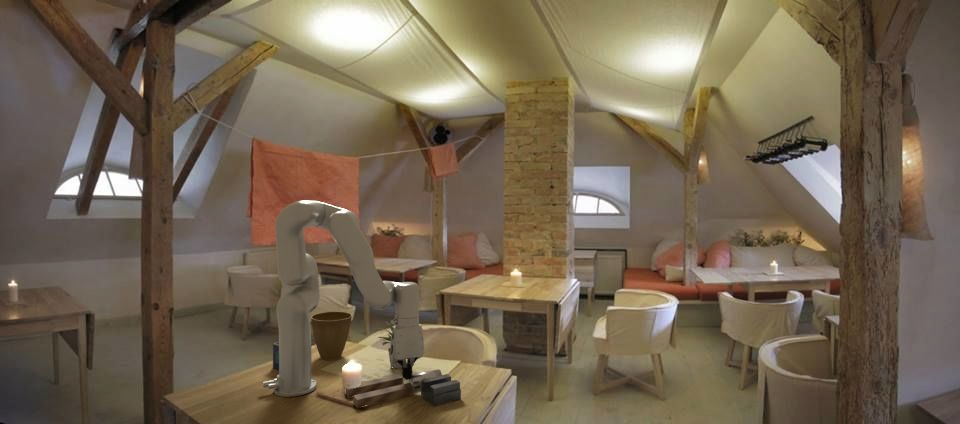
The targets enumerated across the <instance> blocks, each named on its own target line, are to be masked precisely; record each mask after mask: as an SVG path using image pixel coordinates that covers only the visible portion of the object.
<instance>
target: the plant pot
mask: <svg viewBox="0 0 960 424" xmlns="http://www.w3.org/2000/svg"><path fill="white" fill-rule="evenodd" d="M352 319H353V315H352V313H350V312H346V311H326V312H319V313H314V314H312V315H311V316H310V323H311V330H312V333H313V337H314V343H315V346H316V349H317V352H318V354H319V357H320V359H321V360H324V361H334V360H338V359H340V358H342V355H343V352H344V350H345V347H346V345H347V341H348V337H349V334H350V329H351V324H352Z"/></svg>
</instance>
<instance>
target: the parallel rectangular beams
mask: <svg viewBox="0 0 960 424" xmlns="http://www.w3.org/2000/svg"><path fill="white" fill-rule="evenodd" d="M346 395H347V396H348V397H351V398H353V399H352V401H353V403H354V404H355V406H354V407H355V408H356V409H357V410H358V409H362V408H361V407H362V406H365V405H368V406H367V407H370V406H371V407H372V406H374V405H375V406H376V405H378V404H382V403H386V402H389V401H394V400H399V399H402V398H406V397H407V398H408V397H411V396H414V395H415V387H414V386H413V385H412V384H411V383H409V382H406V383H404V378H403V377H402V374H400V373H398V374H393V375H389V376H383V377H380V378H379V377H377V378H375V379H371V380H365V381H361V385H360V386H359V387H356V388H346ZM346 395H345V396H346ZM347 396H346V397H347ZM352 396H353V397H352ZM348 397H347V398H348ZM354 404H353V405H354Z"/></svg>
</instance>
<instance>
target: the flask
mask: <svg viewBox="0 0 960 424" xmlns="http://www.w3.org/2000/svg"><path fill="white" fill-rule="evenodd" d="M272 370H274V371H278V372H279V341H277V342H274V343H273V344H272Z"/></svg>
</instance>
